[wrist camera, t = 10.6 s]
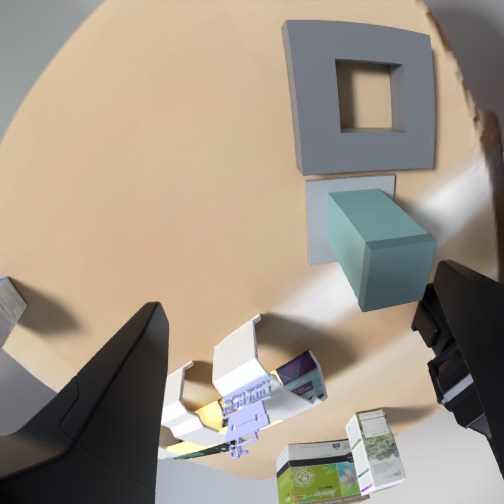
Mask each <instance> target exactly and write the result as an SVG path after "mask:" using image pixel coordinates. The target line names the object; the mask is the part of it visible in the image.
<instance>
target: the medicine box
mask: <svg viewBox="0 0 504 504" xmlns="http://www.w3.org/2000/svg"><path fill="white" fill-rule="evenodd" d="M26 307H27V305H26V303H25V302H24V300H23V299H22V297H21V296H20V295H19V293H18V292H17V290H16V289H15V288H14V286H13V285H12V283H11V282H10V281H9V279H8V277H5V278H3V279H1V280H0V351H1V349H2V347H3V345H4V344H5V342H6V340H7V338H8V337H9V335H10V333H11V331H12V330H13V328H14V326H15V325H16V323H17V322H18V320H19V318H20V317H21V315H22V313H23V312H24V310H25V309H26Z"/></svg>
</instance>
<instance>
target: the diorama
mask: <svg viewBox="0 0 504 504" xmlns="http://www.w3.org/2000/svg"><path fill="white" fill-rule="evenodd" d="M260 320H261V315H260V314H258V315H257V316H255V317H254V318H252V319H251V320H250V321H248V322H247V323H245V324H244V325H243V326H241V327H240V328H238V329H237V330H236V331H234V332H233V333H231V334H230V335H228V336H227V337H225V338H224V339H223V340H222V342H221V343H219V344H218V345H216V346H215V347H214V358H213V376H212V383H213V384H214V386H215V387H216V388H217V390H218V391H219V393H220V394H221V395H222V396H223V398H221V399H219V400H218V401H215V402H213V403H211V404H209V405H207V406H205V407H203V408H201V409H198V410H196V411H195V412H191V411H188V410H187V409H186V407H185V406H184V404H183V403H182V402H181V401H182V396H183V388H184V379H185V377H184V375H185V371H186V370H187V369H189V368H190V367H192V366H194V362H193V361H190V362H189V363H187V364H185V365H184V366H182V367H181V368H179V369H178V370H176V371H175V372H173V373H172V374H170V375H169V376H167V380H166V387H165V395H164V403H163V411H162V420H161V429H160V439H159V449H158V459H164V458H168V457H172V458H174V457H178V456H182V455H186V454H189V453H193V452H196V451H200V450H203V449H207V448H210V447H213V446H216V445H220V444H223V443H226V442H229V441H232V440H236V441H237V446H235V445H230V447H229V451H231V452H230V453H229V455H230V457H231V458H234V459H238V458H239V457H240V454H242V455H246V454H247V453H248V450H245V449H243V450H242V449H241V448H240V447H241V446H244V445H247V444H249V443H251V442H254V441H256V440H258V435H257V432H259V430H261V429H264V428H266V427H269V426H271V425H274V424H276V423H279V422H281V421H283V420H285V419H288V418H290V417H292V416H294V415H297V414H299V413H301V412H303V411H305V410H307V409H309V408H312V407H314V406H316V405H318V404H320V403H322V402H324V400H325V399H326V398H327V397H328V396H327V391H326V387H325V383H324V379H323V375H322V371H321V367H320V364H319V363H318V361H317V359H316V358H315V356H314V354H313V352H312V350H308V351H306V352H304V353H303V354H301V355H299V356H298V357H296V358H295V359H293V360H291V361H289V362H288V363H286V364H284V365H283V366H281V367H279V368H278V369H276V371H272V372H270V373H269V372H267V371H266V370H265V369H264V368H263V366H262V365H261V363H260V362H259V361H258V354H257V341H256V335H255V334H256V331H255V324H256V323H258V322H259V321H260ZM252 433H253V436H254V437H253V438H252V439H249V440H247V441H245V442H243V443H241V438H242V437H244V436H247V435H249V434H252ZM233 447H237V450H232V449H233ZM235 451H237V454H236V456H235V457H234V456H233V453H234V452H235ZM242 452H243V453H242Z"/></svg>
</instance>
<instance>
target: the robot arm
mask: <svg viewBox="0 0 504 504" xmlns="http://www.w3.org/2000/svg"><path fill="white" fill-rule="evenodd" d="M411 329H412V330H413V331H417V330H418V331H419V333H420V335H421V336H422V338H423V340H424V342H425V343H426V345H427V347H428V348H432V350H433V351H434V353H435V355H436V357H435V358H434V359H433V360H430V361H429V362H428V363H427V365H428V368H429V373H430V376H431V380H432V383H433V386H434V389H435V392H436V396H437V402H438V403H439V404H442V405H444V407H445V408H446V409H447V410H448V411H450V412H453V413H454V416H455V419H456V421H457V423H458V424H459V425H460V426H462V427H464V428H466V429H467V428H470V429H473V430H475V431H477V432H479V433H481V434H483V435H485V436H486V438H487V440H488V442H489V444H490V446H491V449H492V451H493V454H494V456H495V459H496V461H497V464H498V466H499V469H500V472H501V474H502V477H503V479H504V285H502V284H500V283H498V282H496V281H494V280H492V279H490V278H488V277H486V276H484V275H482V274H480V273H478V272H476V271H474V270H472V269H470V268H468V267H465V266H463V265H461V264H459V263H457V262H455V261H453V260H450V259H447V260H442V261H440V262H439V263H438V266H437V270H436V273H435V277H434V282H433V284H429V285H426V288H425V292H424V295H423V298H422V300H419V304H418V307H417V310H416V313H415V317H414V320H413V323H412V326H411ZM168 348H169V322H168V319H167V317H166V314H165V312H164V309H163V307H162V305H161V303H160V302H158V301H156V302H147V303H146V304H145V305H144V306H143V307H142V308H141V309H140V310H139V311H138V312H137V313H136V314H135V315H134V316H133V317H132V318H131V319H130V320H129V321H128V322H127V323H126V324H125V325H124V326H123V327H122V328H121V329H120V330H119V331H118V332H117V333H116V334H115V335H114V336H113V337H112V338H111V339H110V340H109V341H108V342H107V343H106V344H105V345H104V346H103V347H102V348H101V349H100V350H99V351H98V352H97V353H96V354H95V355H94V356H93V357H92V358H91V359H90V360H89V362H88V363H87V364H86V365H85V366H84V367H83V368H82V369H81V370H80V371H79V372H78V373H77V376H74V377H73V378H72V379H71V380H70V382H69V383H68V384H67V385H66V386H65V387H64V388H63V389H62V390H61V391H60V392H59V393H58V394H57V395H56V396H55V397H54V398H53V399H52V400H51V401H50V402H49V403H48V404H46V406H45V407H43V408H42V409H41V410H40V411H39V412H38V413H37V414H36V415H35V416H33V417H32V418H31V419H30V420H29V421H28V422H27V423H26V424H25V425H24V426H23V427H21V428H20V429H19V430H17V431H16V432H14V433H12V434H9V435H5V436H0V504H155V487H156V473H157V460H158V449H159V439H160V429H161V420H162V411H163V403H164V395H165V387H166V380H167V372H168Z"/></svg>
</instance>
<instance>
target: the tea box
mask: <svg viewBox="0 0 504 504" xmlns="http://www.w3.org/2000/svg"><path fill="white" fill-rule="evenodd" d="M276 470H277V483H278V494H279V504H357V503H360V502H362V501H364V500H366V499H369V498H370V497H369V494H367V495H363V496H362V495H361V491H360V487H359V482H358V478H357V473H356V468H355V464H354V459H353V455H352V451H351V446H350V443H349V440H345V441H337V442H326V443H311V444H288V445H287V446H286V447H285V448H284V450H283V451H282V452H281V453H280V455H279V456H278V457H277V459H276Z"/></svg>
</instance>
